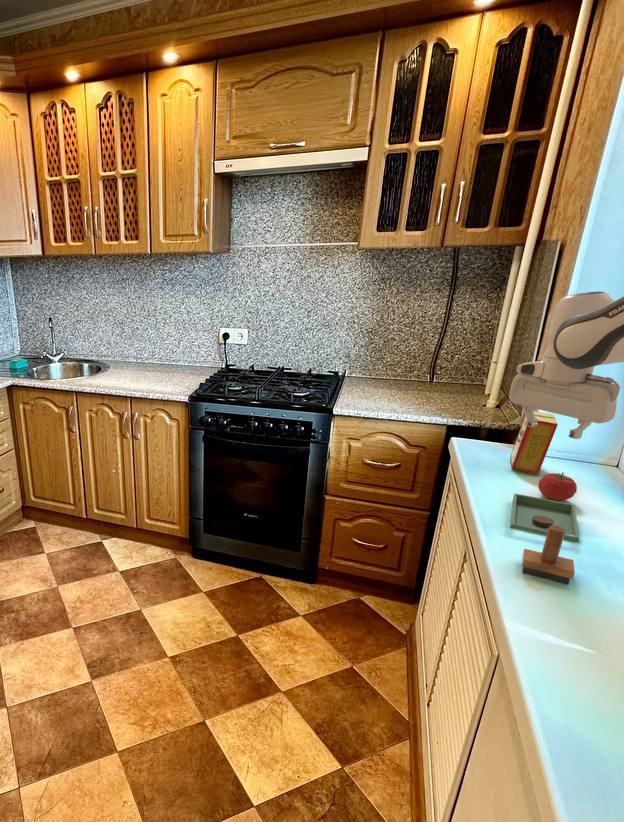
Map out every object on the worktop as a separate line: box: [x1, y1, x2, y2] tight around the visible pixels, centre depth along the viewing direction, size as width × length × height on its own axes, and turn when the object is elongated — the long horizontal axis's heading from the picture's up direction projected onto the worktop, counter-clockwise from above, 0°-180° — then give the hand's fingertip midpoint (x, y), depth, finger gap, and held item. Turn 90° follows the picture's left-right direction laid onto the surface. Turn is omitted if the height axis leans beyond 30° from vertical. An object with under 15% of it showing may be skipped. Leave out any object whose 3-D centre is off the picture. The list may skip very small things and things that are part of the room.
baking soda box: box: [509, 410, 559, 475], centre depth 153 cm, size 10×6×16 cm
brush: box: [521, 525, 575, 586], centre depth 103 cm, size 8×5×11 cm, turn 55°
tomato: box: [537, 471, 578, 502], centre depth 135 cm, size 8×8×8 cm
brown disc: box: [532, 516, 554, 528], centre depth 123 cm, size 4×4×1 cm
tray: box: [509, 493, 580, 543], centre depth 124 cm, size 19×12×3 cm, turn 145°
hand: (552, 431), depth 117 cm, fingers open, 8 cm apart
